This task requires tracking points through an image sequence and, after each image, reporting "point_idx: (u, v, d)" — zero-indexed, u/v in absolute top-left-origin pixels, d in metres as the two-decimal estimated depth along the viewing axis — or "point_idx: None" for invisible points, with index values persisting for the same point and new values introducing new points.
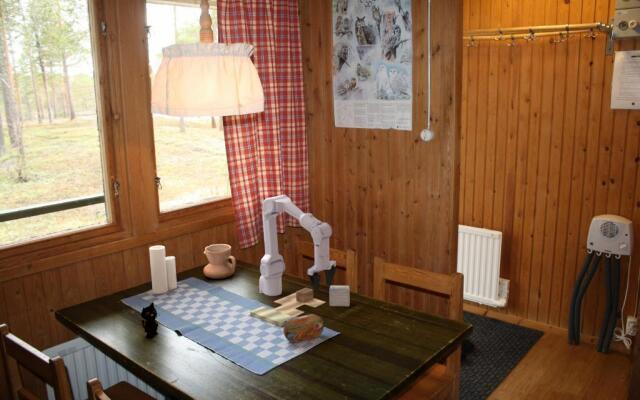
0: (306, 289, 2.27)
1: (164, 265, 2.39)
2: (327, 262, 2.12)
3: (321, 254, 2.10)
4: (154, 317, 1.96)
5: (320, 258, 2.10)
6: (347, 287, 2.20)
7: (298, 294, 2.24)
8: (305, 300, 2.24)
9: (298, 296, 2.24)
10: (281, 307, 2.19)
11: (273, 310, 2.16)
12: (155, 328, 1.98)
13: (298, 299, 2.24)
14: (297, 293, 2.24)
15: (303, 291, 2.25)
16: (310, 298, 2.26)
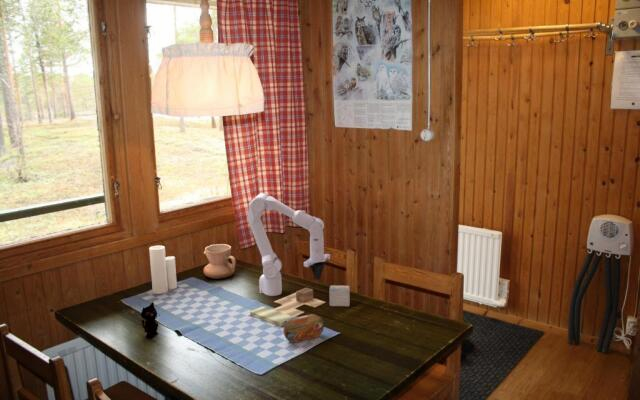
0: (306, 289, 2.27)
1: (164, 265, 2.39)
2: (322, 255, 2.27)
3: (320, 247, 2.26)
4: (154, 317, 1.96)
5: (315, 251, 2.26)
6: (347, 287, 2.20)
7: (298, 294, 2.24)
8: (305, 300, 2.24)
9: (298, 296, 2.24)
10: (281, 307, 2.19)
11: (273, 310, 2.16)
12: (155, 328, 1.98)
13: (298, 299, 2.24)
14: (297, 293, 2.24)
15: (303, 291, 2.25)
16: (310, 298, 2.26)
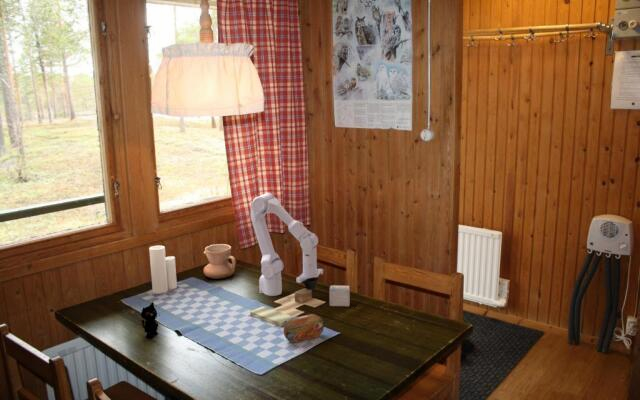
0: (304, 290, 2.26)
1: (164, 265, 2.39)
2: (315, 270, 2.25)
3: (311, 263, 2.23)
4: (154, 317, 1.96)
5: (308, 267, 2.23)
6: (347, 287, 2.20)
7: (296, 295, 2.23)
8: (303, 301, 2.23)
9: (296, 297, 2.23)
10: (281, 307, 2.19)
11: (273, 310, 2.16)
12: (155, 328, 1.98)
13: (296, 300, 2.24)
14: (295, 294, 2.24)
15: (301, 292, 2.24)
16: (308, 299, 2.25)
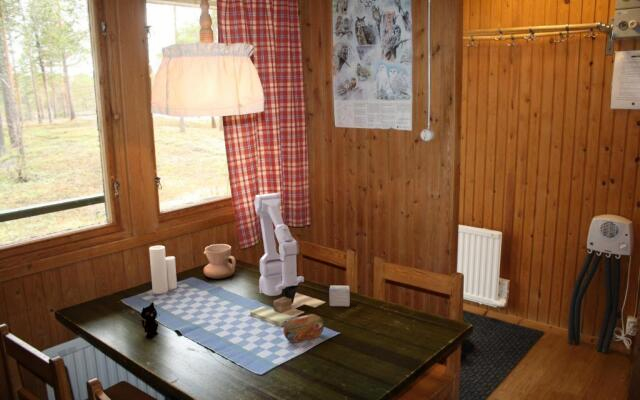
0: (284, 298, 2.17)
1: (164, 265, 2.39)
2: (294, 278, 2.16)
3: (285, 270, 2.14)
4: (154, 317, 1.96)
5: (287, 274, 2.14)
6: (347, 287, 2.20)
7: (275, 304, 2.14)
8: (283, 310, 2.14)
9: (275, 306, 2.14)
10: None
11: (273, 310, 2.16)
12: (155, 328, 1.98)
13: (275, 309, 2.15)
14: (274, 303, 2.15)
15: (281, 300, 2.15)
16: (288, 308, 2.16)
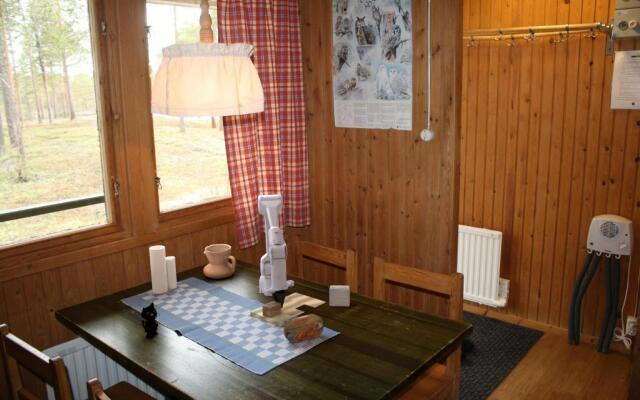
0: (273, 303, 2.13)
1: (164, 265, 2.39)
2: (284, 282, 2.11)
3: (273, 274, 2.10)
4: (154, 317, 1.96)
5: (276, 278, 2.10)
6: (347, 287, 2.20)
7: (264, 308, 2.10)
8: (272, 315, 2.10)
9: (264, 310, 2.10)
10: None
11: None
12: (155, 328, 1.98)
13: (264, 314, 2.11)
14: (263, 307, 2.10)
15: (270, 305, 2.11)
16: (277, 312, 2.12)
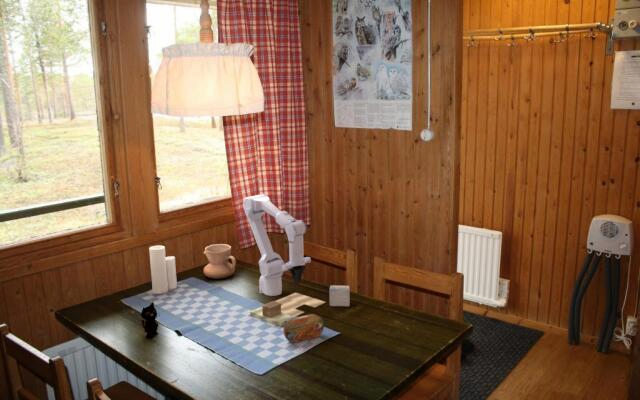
0: (273, 303, 2.13)
1: (164, 265, 2.39)
2: (301, 258, 2.19)
3: (295, 250, 2.17)
4: (154, 317, 1.96)
5: (294, 254, 2.18)
6: (347, 287, 2.20)
7: (264, 308, 2.10)
8: (272, 315, 2.10)
9: (264, 310, 2.10)
10: (281, 307, 2.19)
11: None
12: (155, 328, 1.98)
13: (264, 314, 2.11)
14: (263, 307, 2.10)
15: (270, 305, 2.11)
16: (277, 312, 2.12)
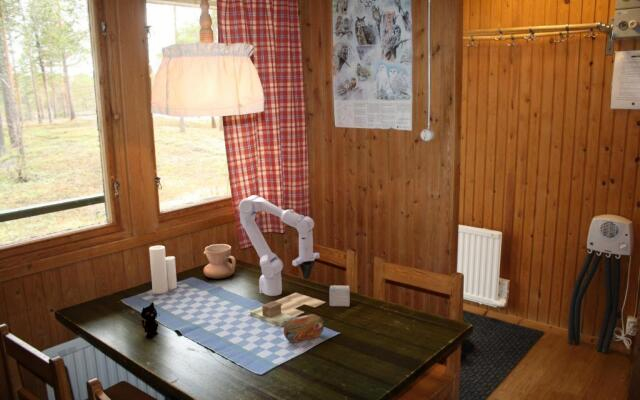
0: (273, 303, 2.13)
1: (164, 265, 2.39)
2: (311, 254, 2.25)
3: (308, 246, 2.23)
4: (154, 317, 1.96)
5: (304, 250, 2.23)
6: (347, 287, 2.20)
7: (264, 308, 2.10)
8: (272, 315, 2.10)
9: (264, 310, 2.10)
10: (281, 307, 2.19)
11: None
12: (155, 328, 1.98)
13: (264, 314, 2.11)
14: (263, 307, 2.10)
15: (270, 305, 2.11)
16: (277, 312, 2.12)
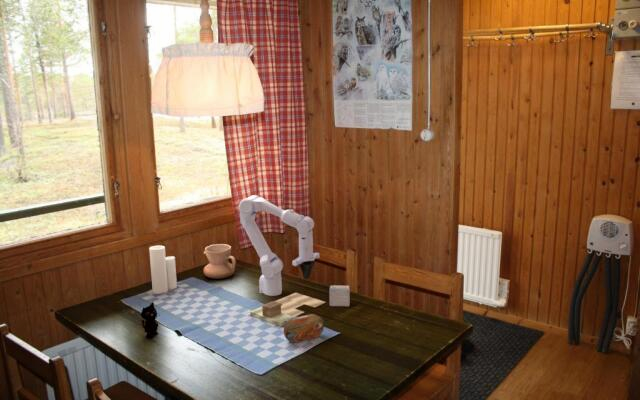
0: (273, 303, 2.13)
1: (164, 265, 2.39)
2: (311, 254, 2.25)
3: (308, 246, 2.23)
4: (154, 317, 1.96)
5: (304, 250, 2.23)
6: (347, 287, 2.20)
7: (264, 308, 2.10)
8: (272, 315, 2.10)
9: (264, 310, 2.10)
10: (281, 307, 2.19)
11: None
12: (155, 328, 1.98)
13: (264, 314, 2.11)
14: (263, 307, 2.10)
15: (270, 305, 2.11)
16: (277, 312, 2.12)
